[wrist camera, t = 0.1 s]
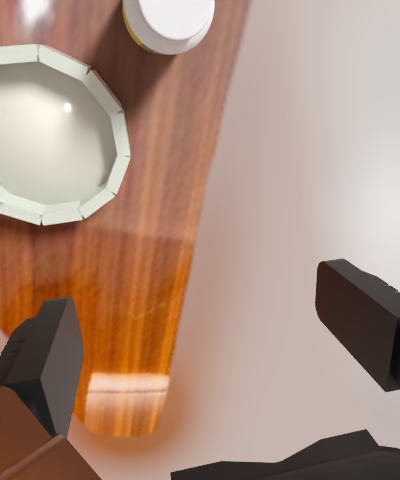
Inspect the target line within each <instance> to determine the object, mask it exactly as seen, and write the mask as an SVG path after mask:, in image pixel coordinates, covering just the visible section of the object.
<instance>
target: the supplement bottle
mask: <svg viewBox="0 0 400 480" xmlns="http://www.w3.org/2000/svg"><path fill="white" fill-rule="evenodd" d="M122 10H123V18H124V22H125V25H126V28H127V30H128V32H129V34H130V36H131V37H132V39H133V40H134V41H135V42H136V43H137V44H138V45H139V46H140V47H142V48H143V49H145V50H146V51H149V52H151V53H154V54H165V55H176V54H181V53H184V52H186V51H188V50H190V49H192V48H193V47H195V46H196V45H197V44H198V43H199V42H200V41H201V40H202V39H203V38H204V36H205V35H206V33H207V31H208V29H209V27H210V25H211V22H212V18H213V14H214V0H123V5H122Z"/></svg>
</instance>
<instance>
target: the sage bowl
mask: <svg viewBox="0 0 400 480" xmlns="http://www.w3.org/2000/svg"><path fill="white" fill-rule="evenodd" d="M130 155H131V154H130V143H129V137H128V131H127V126H126V120H125V114H124V108H122V104H121V103H120V101H119V100H118V99H117V98H116V96H115V95H114V94H113V92H112V91H111V90H110V88H109V87H108V86H107V85H106V83H105V82H104V81H103V79H102V78H101V77H100V75H99V74H98V73H97V71H96V70H95V69H94V70H91V66H89V65H87V64H85V63H83V62H81V61H79V60H77V59H75V58H73V57H71V56H68V55H66V54H64V53H62V52H60V51H58V50H56V49H54V48H52V47H50V46H45V45H39V44H30V45H18V46H5V47H0V214H4V215H7V216H10V217H14V218H17V219H20V220H24V221H27V222H30V223H34V224H37V225H40V224H41V222H42V223H43V226H44V225H51V224H58V223H65V222H72V221H78V220H83V217H84V218H85V219H86V218H87V217H88V216H90V215H91V214H92V213H94V212H95V211H96V210H98V209H99V208H100V207H102V206H103V205H104V204H106V203H107V202H108V201H109V200H111V199H112V198H113V197H115V194H117V192H118V189H119V187H120V184H121V182H122V179H123V176H124V174H125V171H126V169H127V166H128V163H129V161H130Z"/></svg>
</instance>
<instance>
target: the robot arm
mask: <svg viewBox="0 0 400 480" xmlns="http://www.w3.org/2000/svg"><path fill="white" fill-rule="evenodd" d="M315 306H316V311H317V314H318V317H319V319H320V320H321V322H322V323H323V324H324V325H325V326H326V327H327V328H328V329H329V330H330V331H331V333H332V334H333V335H334V336H335V337H336V338H337V339H338V340H339V341H340V343H341V344H342V345H343V346H344V347H345V348H346V349H347V350H348V351H349V352H350V354H351V355H352V356H353V357H354V358H355V359H356V360H357V361H358V362H359V363H360V365H361V366H362V367H363V368H364V369H365V370H366V371H367V372H368V373H369V374H370V376H371V377H372V378H373V379H374V380H375V381H376V382H377V383H378V384H379V385H380V387H381V388H382V389H383V390H384V391H385V392H389V391H394V390H399V389H400V292H398V290H396V289H395V288H393V287H392V286H388V284H387V283H386V282H384V281H383V280H381V279H380V278H378V277H377V276H374V275H371V274H369V273H366V272H364V271H361V270H360V269H358V268H357V267H355V266H354V265H352V264H351V263H350V262H348V261H347V260H345V259H337V260H329V261H322V262H320V263H319V265H318V268H317V284H316V301H315ZM82 362H83V342H82V337H81V332H80V328H79V323H78V319H77V314H76V310H75V305H74V302H73V299H72V297H64V298H57V299H50V300H45V301H44V302H43V304H42V306H41V308H40V310H39V312H38V314H37V316H36V318H32V319H27V320H25V321H24V322H23V323H22V324H21V325H20V326H18V327H17V328H16V329H15V330H14V331H13V333H12V334H11V336H10V338H9V340H8V342H7V345H5V347H4V349H3V351H2V352H1V356H0V480H102V479H101V478H100V477H99V476H98V475H97V474H96V472H95V471H94V470H93V469H92V468H91V467H90V466H89V464H88V463H87V462H86V461H85V460H84V459H83V457H82V456H81V455H80V454H79V453H78V452H77V450H76V449H75V448H74V447H73V446H72V445H71V443H70V442H69V441H68V440H67V435H68V430H69V425H70V420H71V415H72V410H73V406H74V401H75V396H76V391H77V386H78V381H79V377H80V372H81V367H82ZM171 480H400V449H398V448H392V447H385V446H378V444H377V443H376V441H375V440H374V439H373V437H372V436H371V435H370V433H369V432H368V431H367V430H366V429H365V430H361V431H356V432H352V433H347V434H343V435H338V436H334V437H330V438H325V439H321V440H319V441H317V442H315V443H314V444H312V445H310V446H308V447H306V448H305V449H303V450H301V451H299V452H297V453H296V454H294V455H292V456H290V457H288V458H286V459H284V460H283V461H280V462H277V463H262V462H230V461H221V462H216V463H212V464H207V465H203V466H198V467H194V468H189V469H184V470H180V471H175V472H171Z"/></svg>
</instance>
